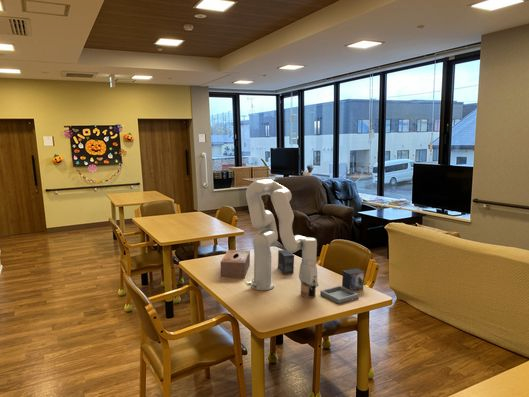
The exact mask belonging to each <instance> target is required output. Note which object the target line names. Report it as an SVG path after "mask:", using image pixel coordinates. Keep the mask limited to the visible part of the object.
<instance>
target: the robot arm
mask: <svg viewBox="0 0 529 397" xmlns="http://www.w3.org/2000/svg"><path fill="white" fill-rule="evenodd" d="M265 195H268V196H270V201H271V203H272V205H273V207H274V210H275V213H276V214H275V215H276V216H277V219H278V227H279V228H278V230H279V231H278V230H277V224H276V219H275V216H274V214H273V213H272V212H271V210H269V209H265V204H264V201H263V199H262V196H265ZM245 197H246V201H247V206H248V212H249V216H250V220H251V221H250V222H251V226H252V227H253V229H255V230H261V231H259V232H258V231H257V233H256V234H254V236H253V239H252V245H253V246H252V247H253V271H254V272H253V273H254V274H253V278H252V280H251V281H246V286H247V287H248V286H250V287H251V288H252V289H254V290H256V291H268V290H269V291H270V290H271V289H273V288H274V286H275V285H274V283H273V282H272V250H271V246H273V245H274V244H276V242H277V241H278V238H279V237H280V240H281V242H282V245H283V248H284V250H287V251H288V252H290V253H292V254H293V253H296V252H298V251H299V250H301V263H300V266H299V273H298V274H299V275H298V278H299V280H300V285H301V284H303V283H307V284H309V285H310V289H309V296H310V298H312V297H311V296H314V295H315V296H316V292H315V289H316V288H317V287H319V282H318V267H317V252H318V249H317V248H318V242H317V238H315V237H310V236H308V237H307V236H303V235H300V234H295V235H294V232H293V223H294V218H295V215H294V211H293V209H292V207H291V203H290V201H291V200H292V197H293V196H292V193H291V190H290V189H288V188H287V187H285V186H284V185H281V184H279V183H278V182H276V180H275V181H274V180H272V179H270V178H264V179H258V180H255V181H253V182H251V183H250V184H249V185H248V187H247V189H246V191H245ZM278 232H279V235H278ZM312 284H313V286H312ZM315 296H314V297H315Z"/></svg>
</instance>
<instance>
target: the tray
mask: <svg viewBox="0 0 529 397" xmlns="http://www.w3.org/2000/svg"><path fill="white" fill-rule="evenodd" d="M319 292H320V294H319V295H321V296H322V297H323V298H326V299H328V300H329V301H332V302H334V303H336V304H337V305H340V304H344V303H348V302H351V301H354V300H357V299H359V293H357V292H355V291H351V290H349V289H346V288H344V287H342V285H337V286H333V287H329V288H324V289H321V290H320V291H319Z"/></svg>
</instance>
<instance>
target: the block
mask: <svg viewBox="0 0 529 397" xmlns="http://www.w3.org/2000/svg"><path fill="white" fill-rule="evenodd" d="M312 286H313V284H312ZM309 289H310V285H309V284H307V283H303V284H301V283H300V295H301V296H302V297H304V298H306V299H309V298H313V297H316V294H315V295H314V296H311V297H310V296H309ZM315 293H316V289H315Z"/></svg>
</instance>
